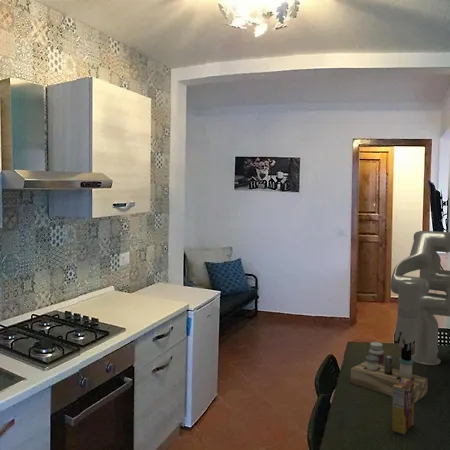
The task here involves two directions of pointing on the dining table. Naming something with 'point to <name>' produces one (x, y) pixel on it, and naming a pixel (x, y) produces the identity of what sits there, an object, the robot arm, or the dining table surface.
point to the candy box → (403, 405)
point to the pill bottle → (377, 351)
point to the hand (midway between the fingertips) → (406, 359)
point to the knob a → (372, 363)
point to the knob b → (405, 369)
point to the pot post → (388, 365)
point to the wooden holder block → (385, 380)
